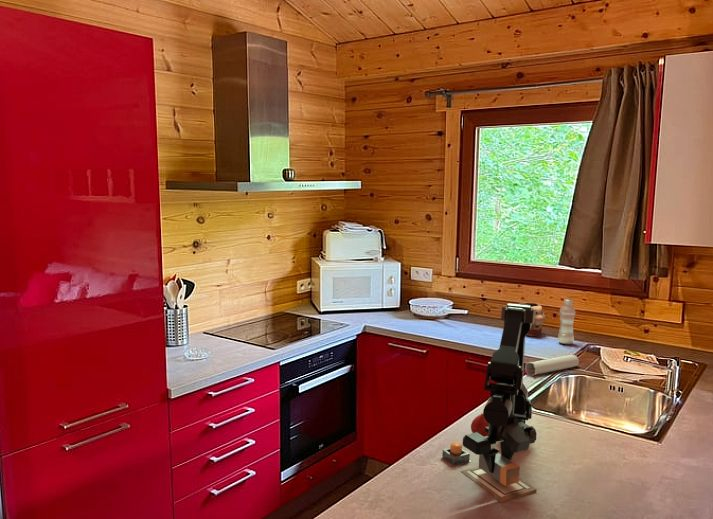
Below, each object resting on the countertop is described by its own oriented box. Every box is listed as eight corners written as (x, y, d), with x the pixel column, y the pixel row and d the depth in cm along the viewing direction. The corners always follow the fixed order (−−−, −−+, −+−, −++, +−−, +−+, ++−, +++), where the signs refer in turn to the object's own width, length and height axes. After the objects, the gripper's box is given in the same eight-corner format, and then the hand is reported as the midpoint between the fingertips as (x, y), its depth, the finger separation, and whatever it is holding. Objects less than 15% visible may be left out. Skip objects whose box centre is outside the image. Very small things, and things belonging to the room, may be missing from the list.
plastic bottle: (575, 346, 268) (579, 301, 265) (559, 345, 269) (563, 300, 265) (570, 341, 275) (574, 297, 272) (555, 341, 275) (558, 297, 272)
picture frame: (494, 464, 161) (494, 461, 160) (536, 491, 148) (536, 488, 147) (460, 473, 155) (460, 470, 155) (500, 502, 142) (500, 499, 142)
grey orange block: (491, 464, 156) (492, 448, 156) (518, 482, 148) (519, 466, 147) (478, 467, 155) (479, 452, 154) (505, 486, 146) (506, 469, 145)
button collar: (457, 453, 166) (458, 444, 166) (471, 463, 161) (472, 454, 160) (439, 458, 163) (439, 449, 163) (453, 468, 158) (453, 458, 158)
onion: (466, 437, 176) (467, 410, 175) (483, 434, 178) (484, 407, 177) (477, 445, 171) (479, 418, 170) (495, 442, 173) (496, 415, 172)
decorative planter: (502, 328, 295) (504, 300, 292) (522, 326, 300) (524, 298, 298) (531, 339, 277) (533, 309, 275) (552, 337, 282) (554, 307, 280)
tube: (569, 353, 245) (523, 362, 232) (580, 353, 240) (534, 361, 228) (572, 367, 244) (526, 376, 231) (582, 366, 240) (536, 376, 227)
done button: (457, 449, 164) (457, 441, 163) (464, 454, 161) (464, 446, 161) (447, 452, 162) (448, 443, 162) (454, 457, 160) (455, 448, 159)
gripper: (493, 430, 137) (489, 495, 140) (555, 415, 146) (550, 477, 148) (462, 411, 147) (459, 473, 149) (522, 399, 156) (518, 457, 158)
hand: (498, 470), depth 151 cm, fingers closed on grey orange block, 4 cm apart
